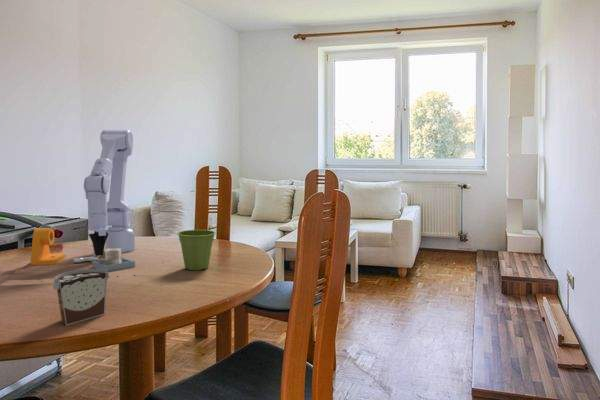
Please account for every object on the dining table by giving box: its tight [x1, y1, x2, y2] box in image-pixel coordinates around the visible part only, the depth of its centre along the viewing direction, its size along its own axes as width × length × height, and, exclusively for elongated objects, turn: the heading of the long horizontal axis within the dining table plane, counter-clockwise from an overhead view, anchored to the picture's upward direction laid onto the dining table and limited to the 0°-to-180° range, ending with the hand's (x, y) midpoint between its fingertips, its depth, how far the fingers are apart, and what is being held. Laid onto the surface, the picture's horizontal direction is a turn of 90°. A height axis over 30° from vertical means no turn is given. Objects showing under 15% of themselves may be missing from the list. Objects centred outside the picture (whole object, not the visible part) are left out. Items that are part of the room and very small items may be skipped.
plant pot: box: [176, 229, 217, 271], centre depth 163 cm, size 12×12×11 cm
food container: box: [52, 268, 110, 327], centre depth 115 cm, size 12×6×10 cm, turn 145°
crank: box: [72, 244, 102, 264], centre depth 168 cm, size 9×3×5 cm, turn 132°
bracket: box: [30, 227, 67, 266], centre depth 168 cm, size 11×7×12 cm, turn 6°
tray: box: [91, 256, 136, 273], centre depth 160 cm, size 9×9×3 cm
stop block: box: [104, 248, 122, 265], centre depth 160 cm, size 4×4×6 cm
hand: (99, 255), depth 168 cm, fingers closed
